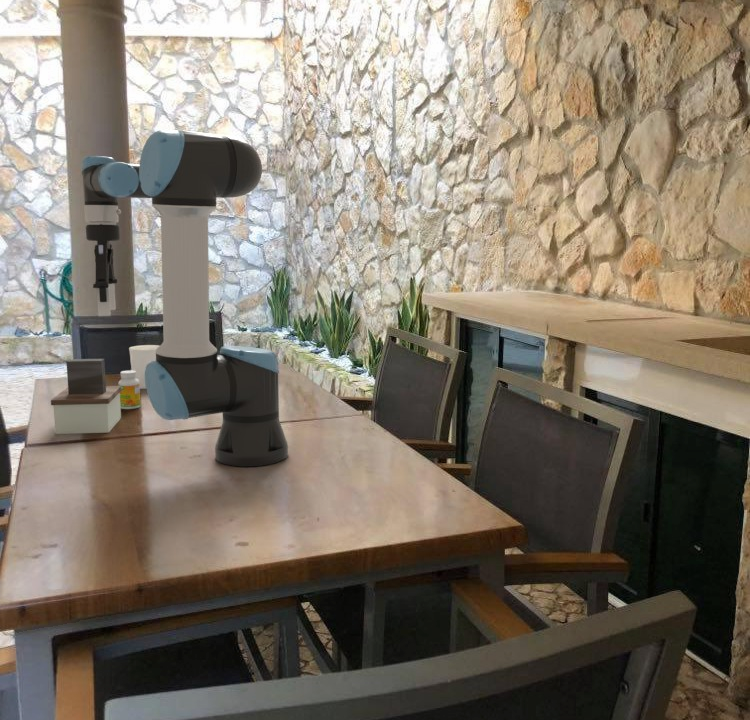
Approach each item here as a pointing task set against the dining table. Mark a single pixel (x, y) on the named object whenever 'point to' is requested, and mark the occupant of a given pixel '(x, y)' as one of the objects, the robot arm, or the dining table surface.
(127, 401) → the supplement bottle
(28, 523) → the dining table surface
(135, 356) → the candle holder
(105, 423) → the sage box
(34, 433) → the dining table surface
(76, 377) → the walnut lid
